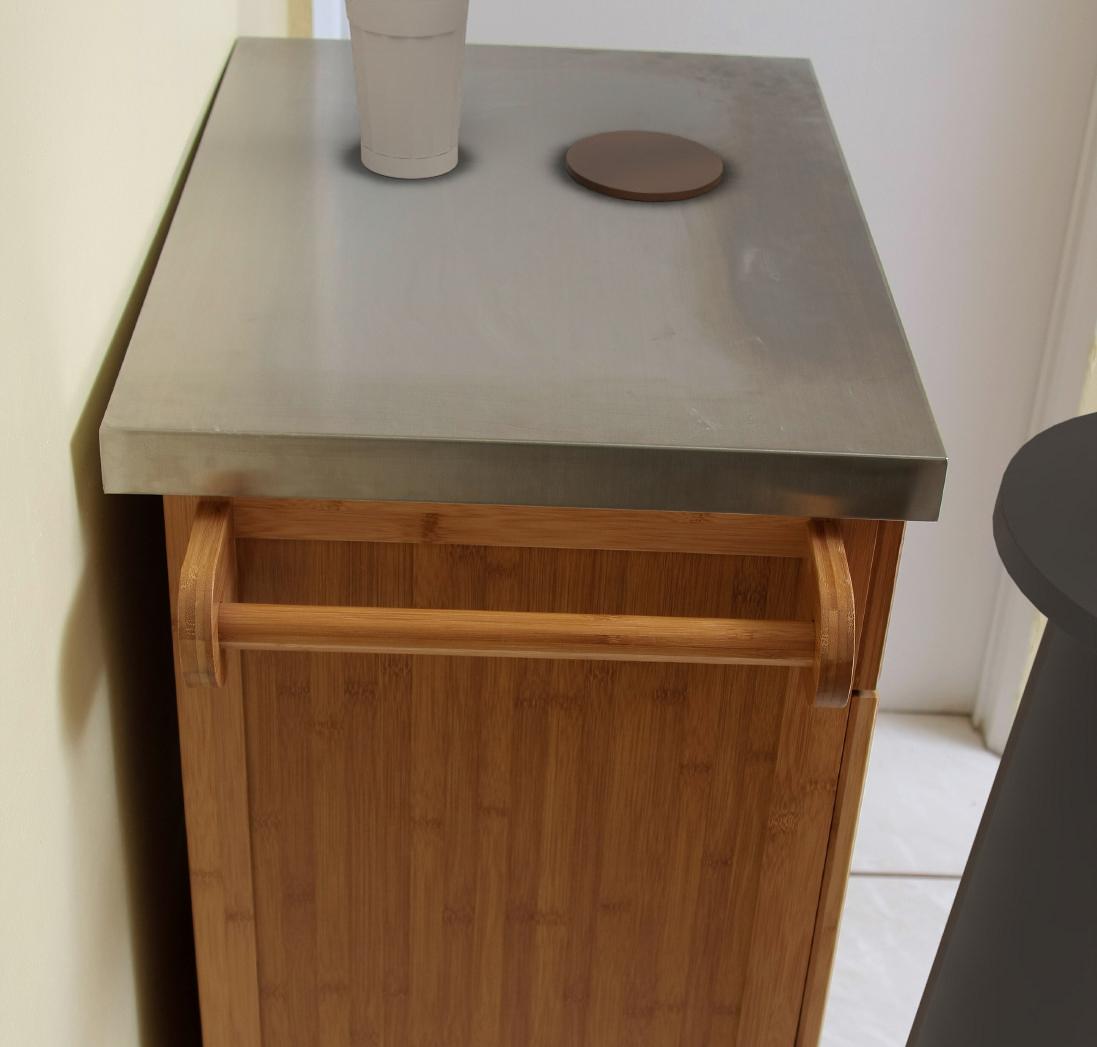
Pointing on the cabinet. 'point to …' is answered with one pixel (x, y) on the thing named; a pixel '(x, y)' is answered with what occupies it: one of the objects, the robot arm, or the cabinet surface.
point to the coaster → (644, 165)
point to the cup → (408, 83)
